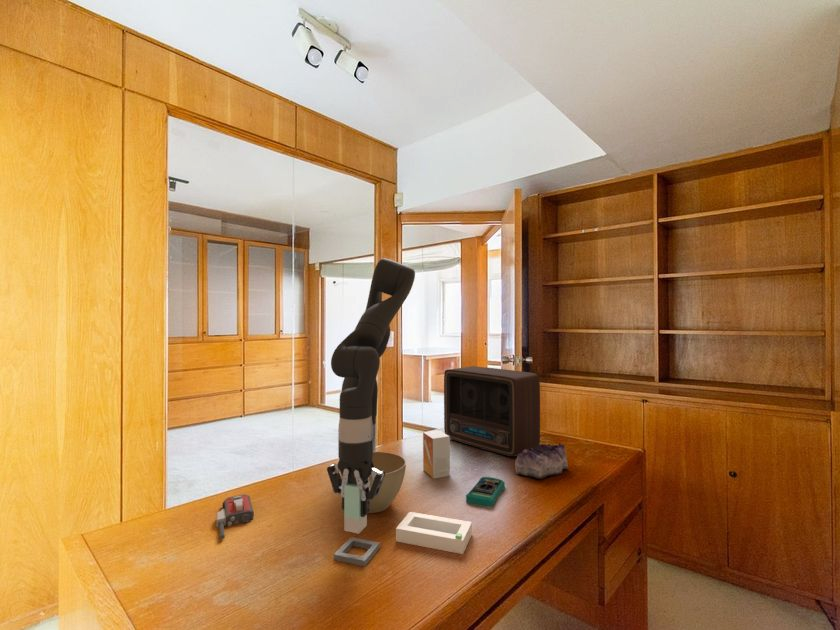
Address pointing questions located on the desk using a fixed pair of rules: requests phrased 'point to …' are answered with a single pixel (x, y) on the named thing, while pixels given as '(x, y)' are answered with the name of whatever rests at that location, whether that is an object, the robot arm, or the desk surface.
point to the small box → (436, 453)
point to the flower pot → (386, 479)
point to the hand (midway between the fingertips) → (355, 513)
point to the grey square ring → (353, 559)
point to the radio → (492, 408)
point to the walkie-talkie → (234, 512)
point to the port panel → (434, 532)
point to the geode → (542, 461)
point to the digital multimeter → (485, 491)
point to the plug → (353, 509)
